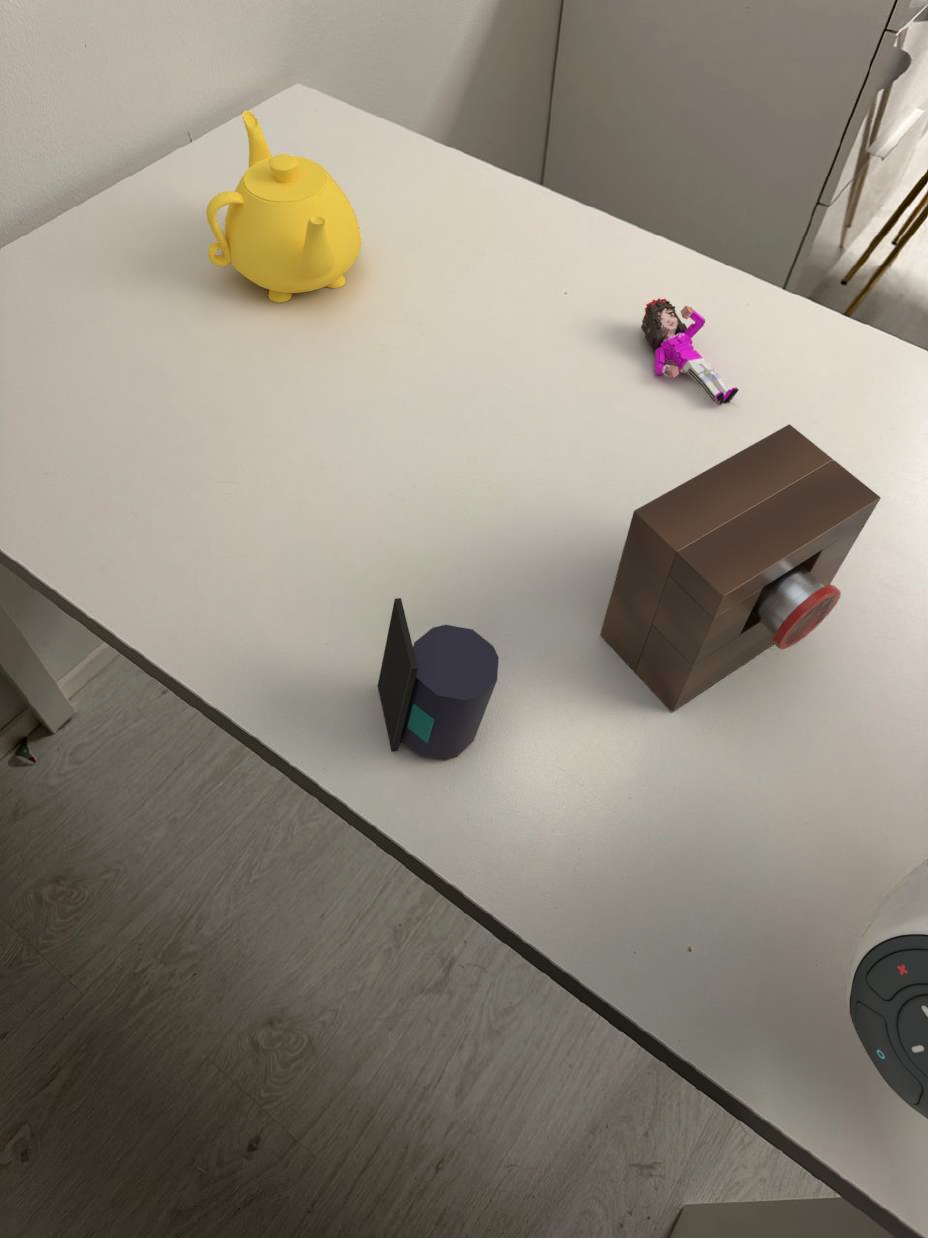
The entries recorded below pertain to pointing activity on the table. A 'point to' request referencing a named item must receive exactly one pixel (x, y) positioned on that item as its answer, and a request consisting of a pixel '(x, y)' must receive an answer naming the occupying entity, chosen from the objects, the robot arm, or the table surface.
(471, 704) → the speaker
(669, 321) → the character figurine
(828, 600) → the knob
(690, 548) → the control box
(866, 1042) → the robot arm
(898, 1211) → the table surface
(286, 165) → the teapot
